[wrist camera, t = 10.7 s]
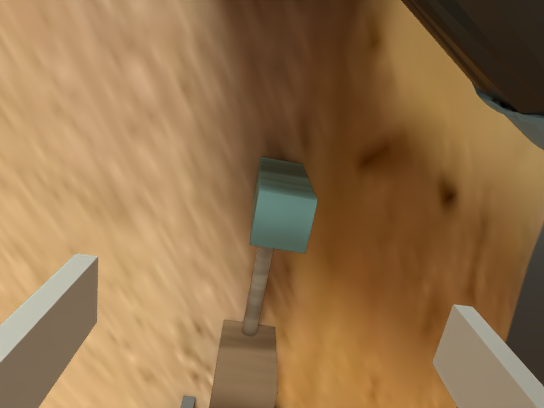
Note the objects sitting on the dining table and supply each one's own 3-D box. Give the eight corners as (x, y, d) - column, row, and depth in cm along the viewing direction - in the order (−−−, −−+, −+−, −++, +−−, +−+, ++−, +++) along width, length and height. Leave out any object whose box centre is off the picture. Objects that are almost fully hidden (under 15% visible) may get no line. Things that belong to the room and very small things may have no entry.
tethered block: (251, 154, 32) (246, 188, 22) (310, 165, 32) (330, 202, 23) (215, 370, 39) (199, 465, 29) (264, 376, 39) (264, 472, 30)
